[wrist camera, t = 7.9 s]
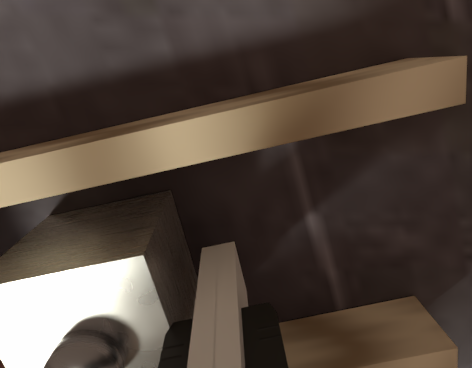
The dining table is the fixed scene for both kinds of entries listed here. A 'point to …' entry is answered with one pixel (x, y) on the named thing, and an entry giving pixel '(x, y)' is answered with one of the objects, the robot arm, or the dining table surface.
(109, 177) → the channel
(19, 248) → the block
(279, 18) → the dining table surface
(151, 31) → the dining table surface
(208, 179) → the dining table surface
